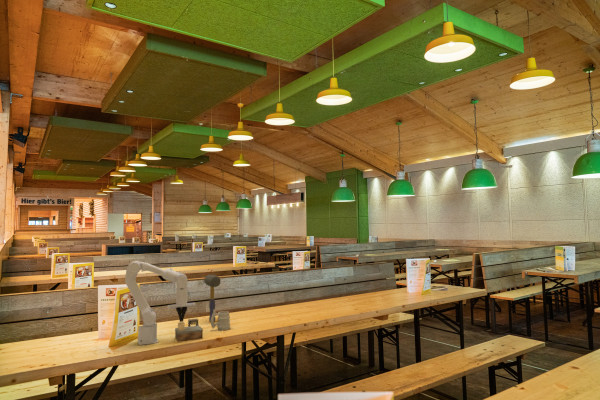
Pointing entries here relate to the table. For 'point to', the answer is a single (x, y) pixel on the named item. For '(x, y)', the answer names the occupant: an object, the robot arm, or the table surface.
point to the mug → (221, 320)
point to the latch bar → (193, 322)
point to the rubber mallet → (212, 291)
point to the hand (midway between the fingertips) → (181, 321)
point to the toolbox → (189, 335)
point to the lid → (187, 328)
